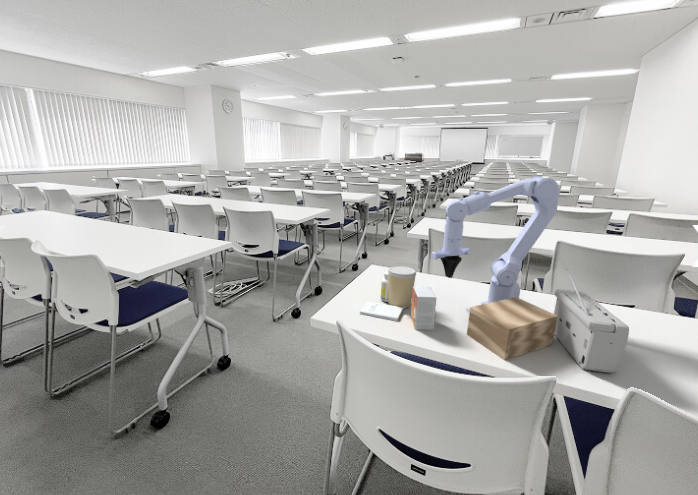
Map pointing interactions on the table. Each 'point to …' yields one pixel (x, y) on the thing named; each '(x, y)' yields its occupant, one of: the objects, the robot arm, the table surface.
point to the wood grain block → (511, 327)
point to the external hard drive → (382, 311)
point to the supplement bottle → (384, 287)
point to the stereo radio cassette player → (589, 331)
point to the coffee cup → (400, 286)
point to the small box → (423, 307)
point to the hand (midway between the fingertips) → (448, 276)
